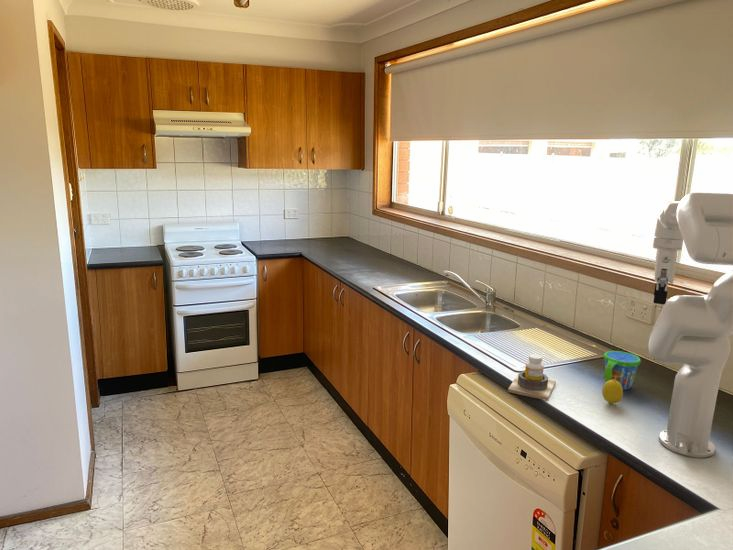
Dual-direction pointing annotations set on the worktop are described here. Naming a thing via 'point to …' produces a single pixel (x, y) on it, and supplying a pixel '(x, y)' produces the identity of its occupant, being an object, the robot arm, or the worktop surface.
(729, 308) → the robot arm
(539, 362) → the supplement bottle
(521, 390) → the collar board
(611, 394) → the lemon
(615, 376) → the snack cup
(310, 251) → the worktop surface
